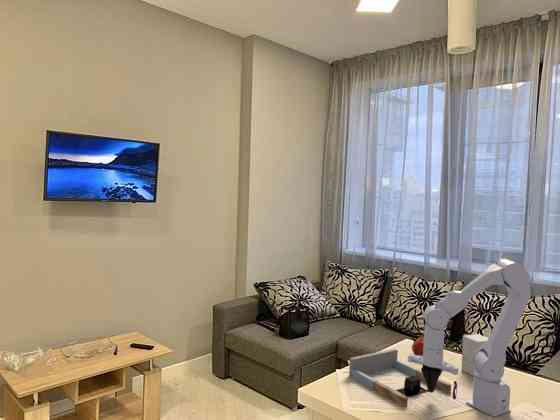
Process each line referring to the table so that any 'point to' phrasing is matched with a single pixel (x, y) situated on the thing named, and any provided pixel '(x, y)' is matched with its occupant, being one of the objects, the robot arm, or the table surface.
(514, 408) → the table surface
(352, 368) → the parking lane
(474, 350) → the supplement box
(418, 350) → the pomegranate
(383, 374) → the table surface
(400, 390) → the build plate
